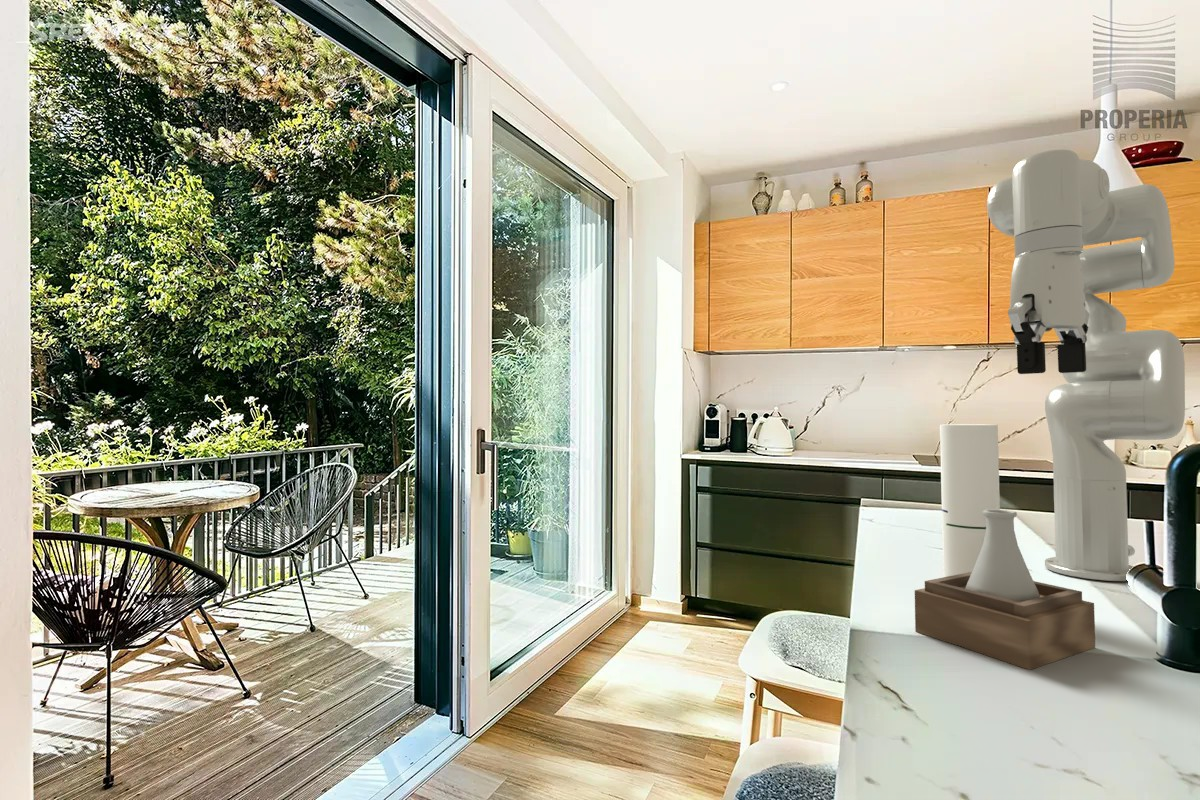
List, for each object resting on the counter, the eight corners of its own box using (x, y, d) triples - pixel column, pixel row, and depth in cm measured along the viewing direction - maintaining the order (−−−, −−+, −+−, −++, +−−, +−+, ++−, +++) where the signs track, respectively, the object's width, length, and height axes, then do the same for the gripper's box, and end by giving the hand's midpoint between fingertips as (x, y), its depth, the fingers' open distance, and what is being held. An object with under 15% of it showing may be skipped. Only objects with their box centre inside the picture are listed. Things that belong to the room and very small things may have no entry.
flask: (952, 591, 75) (950, 509, 75) (992, 585, 78) (990, 505, 78) (1012, 608, 68) (1009, 517, 69) (1053, 600, 71) (1051, 513, 72)
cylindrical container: (985, 593, 91) (981, 424, 92) (1013, 608, 84) (1008, 424, 85) (935, 592, 92) (931, 424, 93) (957, 607, 85) (953, 425, 86)
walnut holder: (980, 615, 82) (979, 567, 82) (1095, 647, 70) (1093, 592, 70) (915, 631, 76) (914, 580, 76) (1029, 669, 64) (1027, 609, 64)
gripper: (1053, 257, 91) (1057, 373, 91) (981, 248, 84) (985, 375, 84) (1113, 245, 85) (1118, 370, 85) (1041, 234, 77) (1046, 372, 77)
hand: (1052, 372), depth 84 cm, fingers open, 9 cm apart
